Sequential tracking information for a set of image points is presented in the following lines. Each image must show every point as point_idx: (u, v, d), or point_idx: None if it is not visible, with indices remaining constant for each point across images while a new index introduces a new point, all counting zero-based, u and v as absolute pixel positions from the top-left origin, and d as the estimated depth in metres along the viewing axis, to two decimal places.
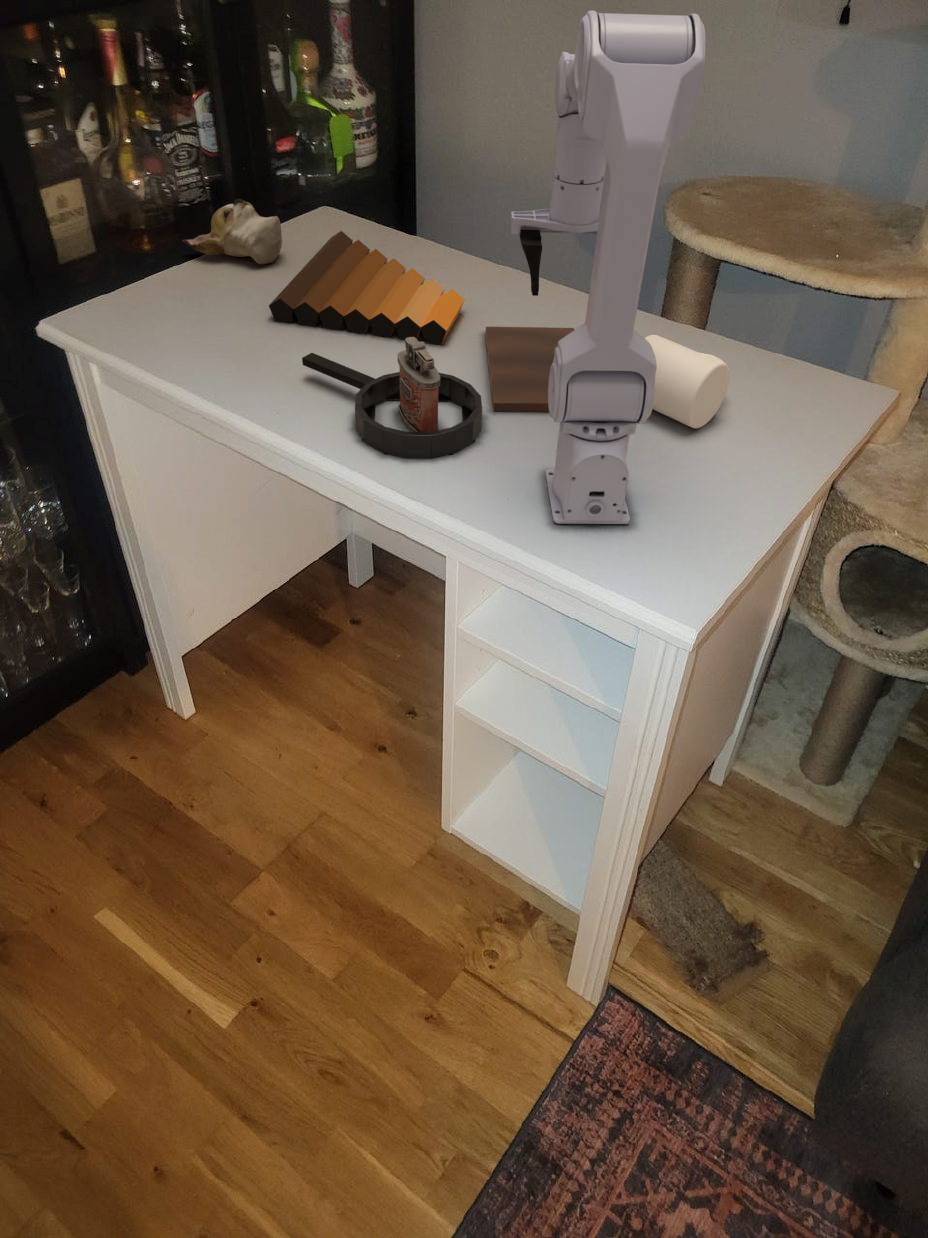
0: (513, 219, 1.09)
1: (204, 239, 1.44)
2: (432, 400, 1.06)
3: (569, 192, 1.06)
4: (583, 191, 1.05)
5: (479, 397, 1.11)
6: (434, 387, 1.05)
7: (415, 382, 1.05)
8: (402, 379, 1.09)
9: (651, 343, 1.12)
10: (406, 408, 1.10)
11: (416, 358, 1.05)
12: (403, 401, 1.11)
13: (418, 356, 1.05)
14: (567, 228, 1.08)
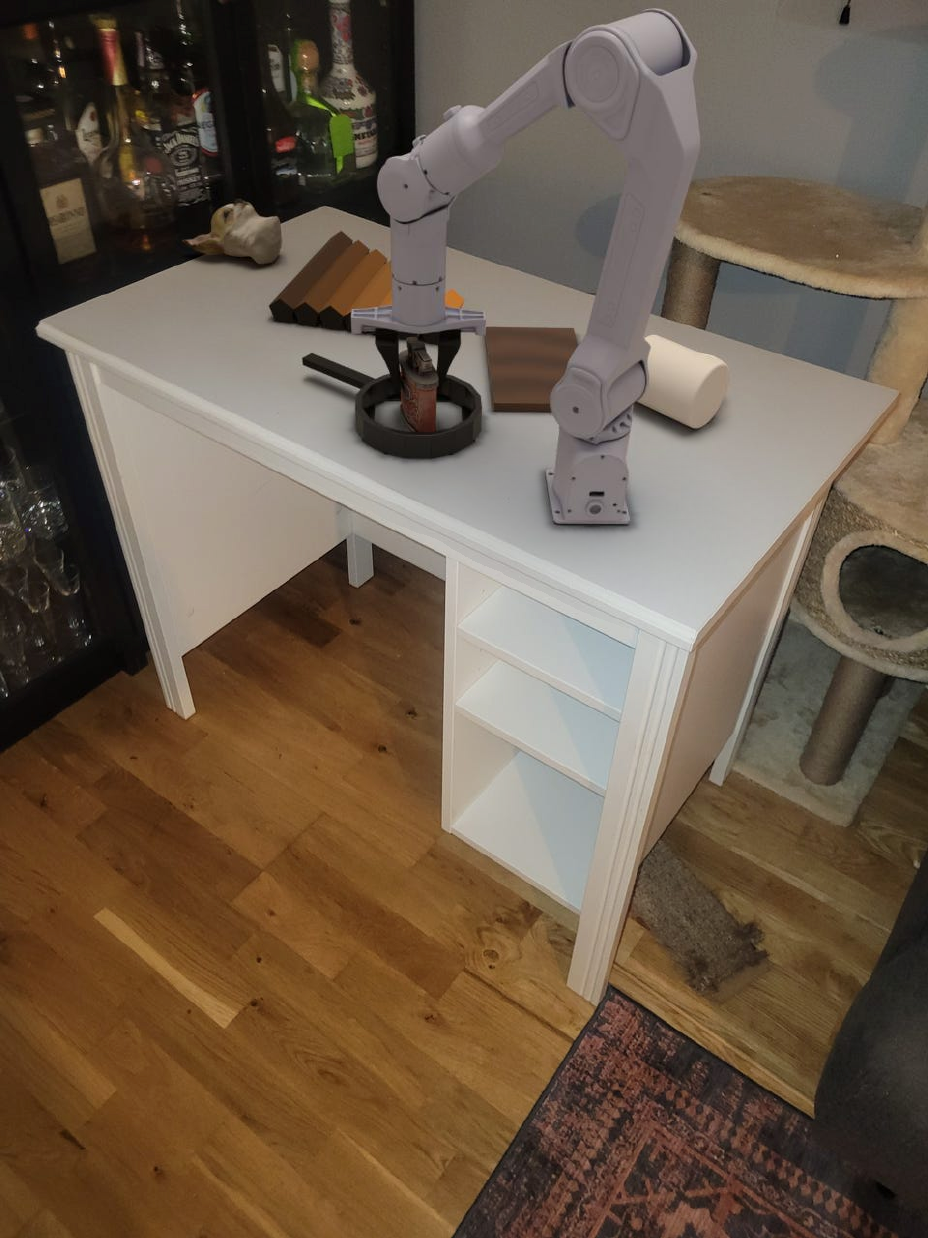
0: (352, 318, 1.02)
1: (204, 239, 1.44)
2: (429, 401, 1.06)
3: (406, 293, 0.99)
4: (421, 292, 0.98)
5: (479, 397, 1.11)
6: (431, 388, 1.05)
7: (413, 382, 1.05)
8: (402, 379, 1.09)
9: (651, 343, 1.12)
10: (405, 408, 1.10)
11: (415, 358, 1.05)
12: (403, 401, 1.11)
13: (417, 357, 1.05)
14: (408, 329, 1.01)
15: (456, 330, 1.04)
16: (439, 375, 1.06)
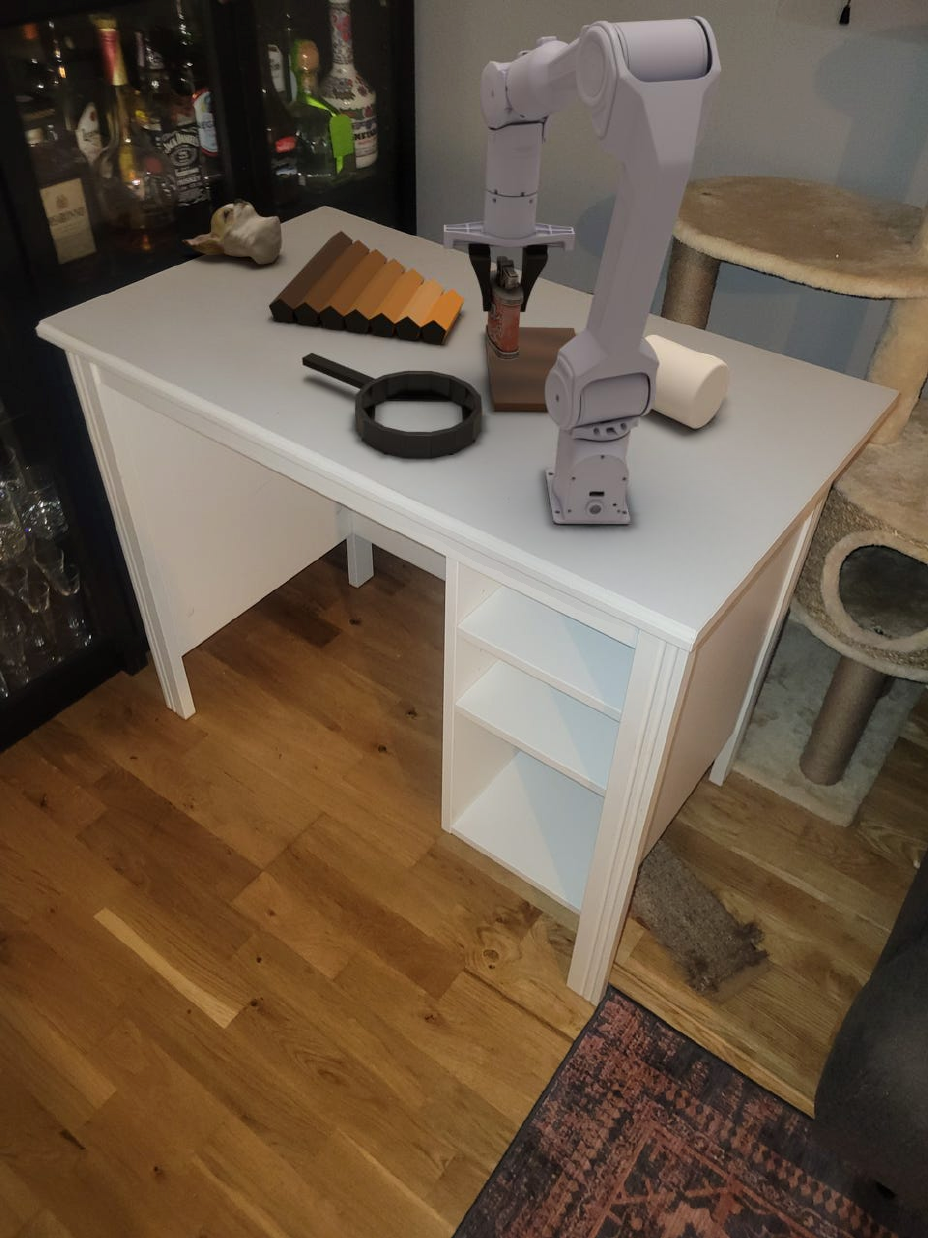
0: (445, 233, 1.05)
1: (204, 239, 1.44)
2: (513, 318, 1.08)
3: (501, 205, 1.01)
4: (516, 204, 1.01)
5: (479, 397, 1.11)
6: (515, 304, 1.07)
7: (498, 298, 1.08)
8: None
9: (651, 343, 1.12)
10: (490, 326, 1.13)
11: (503, 275, 1.08)
12: (489, 319, 1.13)
13: (504, 273, 1.07)
14: (501, 242, 1.04)
15: (543, 245, 1.06)
16: (524, 291, 1.09)
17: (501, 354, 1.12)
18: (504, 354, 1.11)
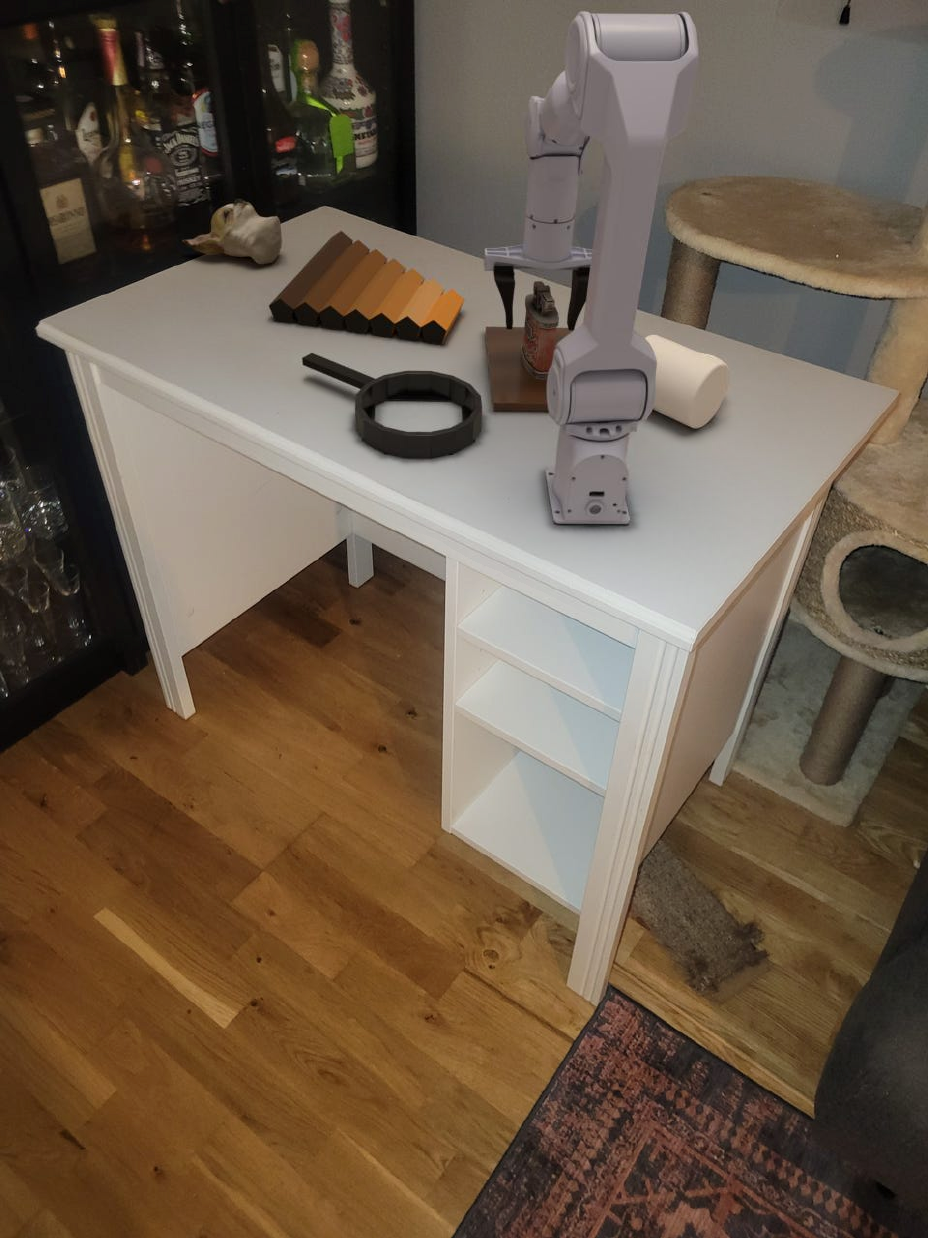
0: (486, 256, 1.11)
1: (204, 239, 1.44)
2: (548, 340, 1.15)
3: (540, 231, 1.08)
4: (554, 230, 1.07)
5: (479, 397, 1.11)
6: (551, 328, 1.14)
7: (535, 321, 1.15)
8: (526, 319, 1.18)
9: (651, 343, 1.12)
10: (526, 347, 1.20)
11: (539, 299, 1.15)
12: (525, 340, 1.20)
13: (541, 298, 1.14)
14: (539, 265, 1.10)
15: None
16: (574, 311, 1.15)
17: (536, 373, 1.18)
18: (539, 373, 1.18)
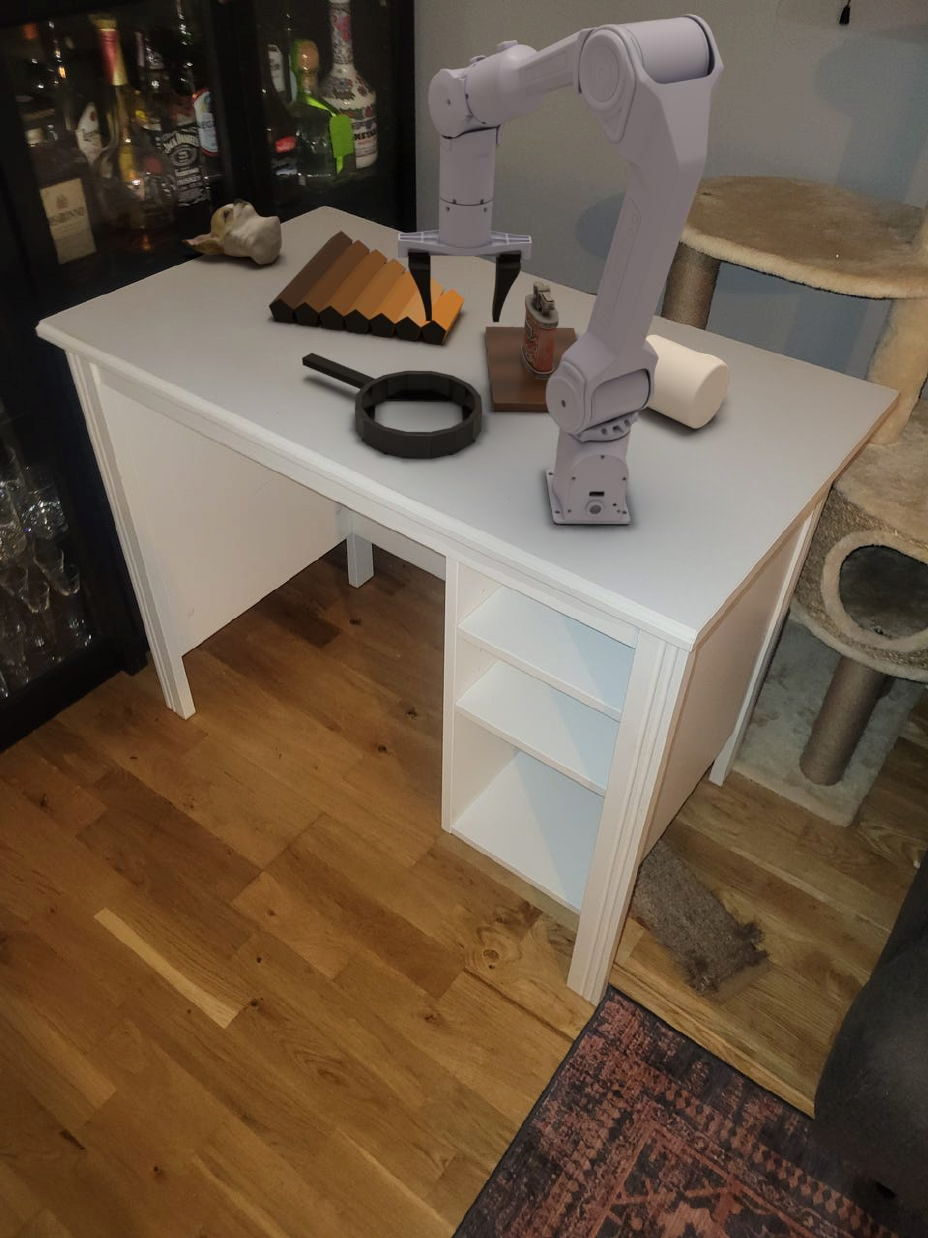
0: (399, 241, 1.02)
1: (204, 239, 1.44)
2: (548, 340, 1.15)
3: (455, 213, 0.99)
4: (469, 212, 0.99)
5: (479, 397, 1.11)
6: (551, 328, 1.14)
7: (535, 321, 1.15)
8: (526, 319, 1.18)
9: (651, 343, 1.12)
10: (526, 347, 1.20)
11: (539, 299, 1.15)
12: (525, 340, 1.20)
13: (541, 298, 1.14)
14: (455, 251, 1.01)
15: (516, 254, 1.04)
16: (497, 302, 1.07)
17: (536, 373, 1.18)
18: (539, 373, 1.18)
